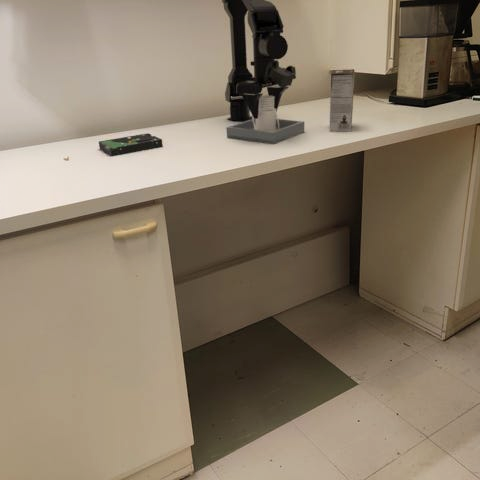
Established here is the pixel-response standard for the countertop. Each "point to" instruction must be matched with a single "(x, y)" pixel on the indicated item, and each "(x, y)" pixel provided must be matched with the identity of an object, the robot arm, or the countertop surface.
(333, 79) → the coffee box
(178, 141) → the countertop surface
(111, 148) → the disk drive
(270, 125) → the downlight
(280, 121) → the tray
